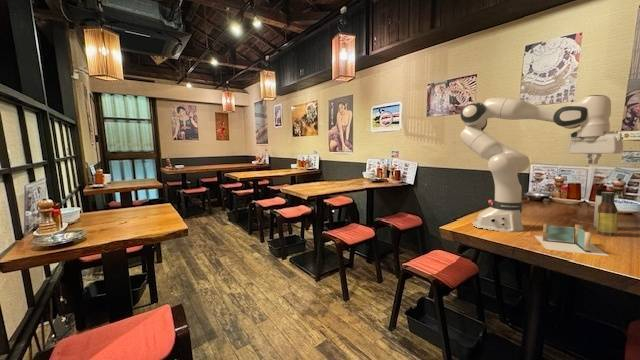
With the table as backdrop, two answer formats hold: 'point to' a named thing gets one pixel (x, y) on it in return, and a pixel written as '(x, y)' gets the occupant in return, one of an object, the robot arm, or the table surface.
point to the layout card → (569, 247)
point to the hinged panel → (584, 239)
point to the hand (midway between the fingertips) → (592, 164)
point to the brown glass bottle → (597, 202)
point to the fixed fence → (561, 233)
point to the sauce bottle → (607, 215)
